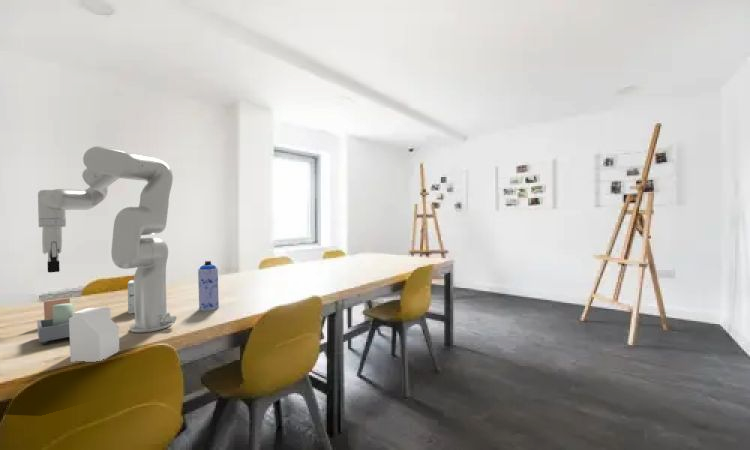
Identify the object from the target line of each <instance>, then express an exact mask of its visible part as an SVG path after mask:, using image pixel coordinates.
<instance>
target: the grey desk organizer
mask: <svg viewBox="0 0 750 450" xmlns="http://www.w3.org/2000/svg"><path fill="white" fill-rule="evenodd" d="M70 301H71V299H70V297H66V298H57V299H52V300H51V299H50V300H44V301H43V313H44V314H43V317H44V319H40V320H37V321H36V322H37V323H36V324H37V325H36V326H37V337H38V341H39V343H41V344H42V345H47V344H48V342H50V341H56V340H60V339H65V338H70V332H69V323H66V324H60V325H54V326H53V306H54V305H57V304H64V303H71V302H70Z"/></svg>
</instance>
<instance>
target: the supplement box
mask: <svg viewBox="0 0 750 450" xmlns="http://www.w3.org/2000/svg"><path fill="white" fill-rule="evenodd" d="M127 314H128V315H131V314H135V305H134V279H131V280H129V281H128V282H127Z"/></svg>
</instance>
